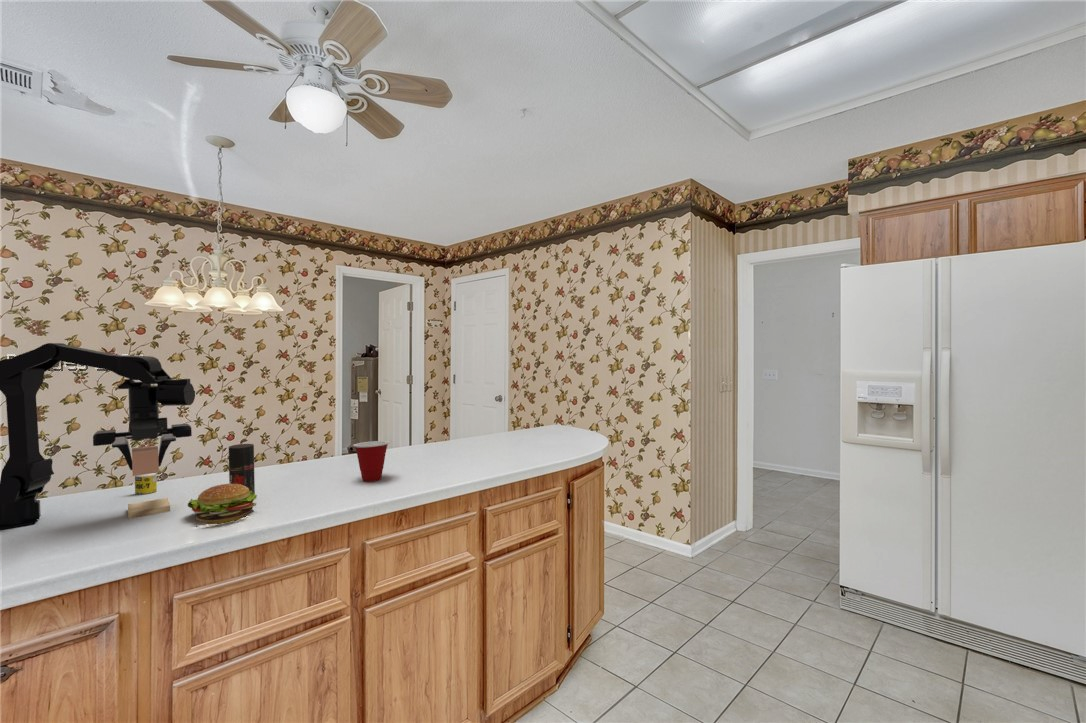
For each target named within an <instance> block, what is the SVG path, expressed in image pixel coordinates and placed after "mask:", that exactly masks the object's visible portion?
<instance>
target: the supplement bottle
mask: <svg viewBox="0 0 1086 723" xmlns="http://www.w3.org/2000/svg"><path fill="white" fill-rule="evenodd" d="M157 478H158V477H157V473H152V474H144V475H137V476H134V494H135V495H136V496H145V495H150V494H154V493H156V492H157V488H158V486H157Z"/></svg>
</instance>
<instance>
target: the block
mask: <svg viewBox="0 0 1086 723" xmlns="http://www.w3.org/2000/svg"><path fill="white" fill-rule="evenodd" d="M158 456H159V446H158V445H151V446H143V447H142V446H141V447H132V448H131V458H132V470H131V471H132V472H131V473H132V477H135V476H137V475H144V474H152V473H156V474H158V473H159V472H160V468H159V460H158Z"/></svg>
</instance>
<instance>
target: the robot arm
mask: <svg viewBox="0 0 1086 723" xmlns="http://www.w3.org/2000/svg"><path fill="white" fill-rule="evenodd" d="M60 362H65V363H68V364H75V365H80V366H85V367H91V368H96V369H102V370H107V371H110V372H112V373H114V374H116V375H117V376H120V377H122V378H126V379H124V381H123V382H122V383H120V384H119V385H118V386H117V387H116V388H117V389H118V390H128V417H129V418H128V419H129V420H128V421H129V423H128V431H122V432H117V429H108V430H107V429H106V430H97V431H96V432H94V433H93V435H92V445H93V447H98V446H108V445H109V446H110V445H111V447H112V448H117V449H118V450H119V451H120V452H121V454H122V456H124V459H125V461H126V464H127V465H128V468H129V469H130V471H132V452H131V449H130V444H129V440H132V441H134V442H138V441H142V440H155V439H157V438H159V437H160V441H159V447H158V460H159V467H161V465H162V463H163V460H164V457H165V455H166V452H167V450H168V448H169V446H170V445H171V443H172V442H177V439H178V438H187V437H189V438H190V437H192V433H193V432H192V426H191V425H190V424H188V423H177V424H171V427H168V417H159V416H160V413H159V410H160V409H159V408H160V407H159V404H160V405H161V406H164V407H167V406H168V407H169V406H171V407H175V406H177V407H179V406H191V405H193V403H194V402H195V399H196V391H195V388H194V386H193V384H192V383H191V378H181V379H173V378H172V377H171V376H170V375H169V374H168V373H167V372H166V371H165V370H164V369H163V368H162V367H163V366H162V363H161V361H159V358H157V357H155V356H150V355H122V354H121V355H120V354H114V353H109V352H104V351H100V350H94V349H93V350H92V349H88V348H84V347H83V348H82V347H78V346H72V345H68V344H66V343H64V342H63V343H62V342H61V343H60V342H47V343H45V344H43V345H40V346H37V347H36V348H34V349H31V350H29V351H26V352H23V353H20V354H18V355H16V356H13V357H11V358H4V359H2V360H1V359H0V392H1V393H2V394H3V395H4V397H5V406H6V423H7V436H8V438H7V440H8V453H9V454H8V456H9V457H8V458H7V461H6V463H5V464H4V466H3V467H2V469H1V474H0V530H5V529H11V528H16V527H17V528H18V527H22V526H23V527H24V526H28V525H35V524H36V523H37V521H38V520H39V519H40V518H41V517H42V516H41V500H40V499H37V496H38V494H41V493H43V491H44V489H45V486H46V485H47V484H48V483H49V482H50V481H51V478H52V475H55V472H54V471H53V461H54V460H53V458H47V459H45V458H44V457H43V455H42V454H41V452H40V441H39V439H40V438H39V425H38V423H39V422H38V410H37V409H38V408H37V407H38V406H37V393H38V392H39V390H40V388H41V387H42V385H43V384H44V378H45V377H44V376H45V372H48V371H50V370H51V369H53V368H55V367H56V366H57V365H58V364H59V363H60Z"/></svg>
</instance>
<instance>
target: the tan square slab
mask: <svg viewBox="0 0 1086 723" xmlns="http://www.w3.org/2000/svg"><path fill="white" fill-rule="evenodd" d="M167 512H168V513H169V512H171V504H170V501H169V498H168V497H165V498H158V499H152V500H145V501H141V502H134V503H128V504H127V514H128V515H127V516H128V519H135V518H140V517H146V516H151V515H156V514H161V513H167Z"/></svg>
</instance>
